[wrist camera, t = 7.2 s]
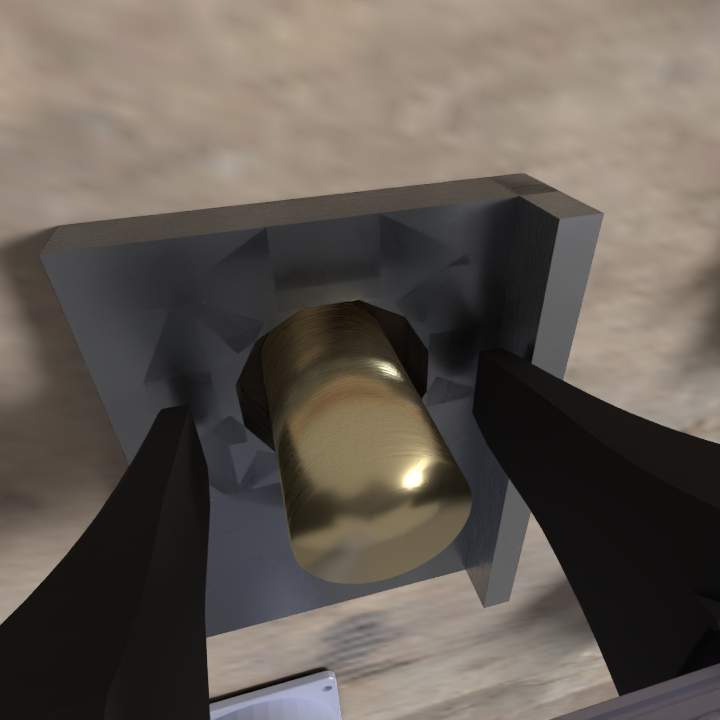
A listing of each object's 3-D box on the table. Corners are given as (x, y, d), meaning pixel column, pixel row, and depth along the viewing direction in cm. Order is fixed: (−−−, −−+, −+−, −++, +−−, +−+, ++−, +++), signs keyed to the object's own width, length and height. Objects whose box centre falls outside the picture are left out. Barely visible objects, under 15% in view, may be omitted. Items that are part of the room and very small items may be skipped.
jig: (472, 529, 21) (508, 600, 19) (203, 596, 19) (202, 686, 17) (524, 173, 13) (603, 213, 10) (58, 225, 11) (13, 291, 8)
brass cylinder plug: (385, 393, 16) (463, 559, 11) (270, 415, 15) (300, 600, 10) (384, 291, 14) (480, 439, 9) (251, 310, 13) (279, 482, 8)
